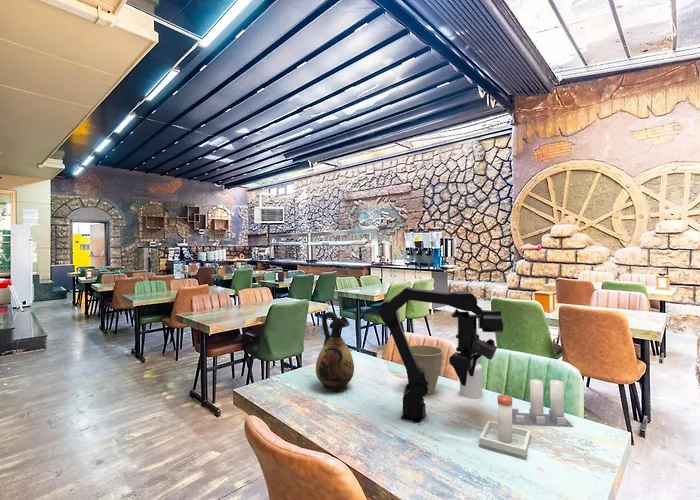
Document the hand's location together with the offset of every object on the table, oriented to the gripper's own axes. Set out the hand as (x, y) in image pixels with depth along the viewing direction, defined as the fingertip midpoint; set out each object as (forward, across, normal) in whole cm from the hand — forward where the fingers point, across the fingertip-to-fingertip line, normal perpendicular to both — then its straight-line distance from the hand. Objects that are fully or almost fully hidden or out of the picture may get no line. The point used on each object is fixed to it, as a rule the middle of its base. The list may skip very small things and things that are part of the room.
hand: (467, 380), depth 111 cm
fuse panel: (+13, +10, -18) cm, 24 cm away
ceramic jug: (+13, +1, +53) cm, 55 cm away
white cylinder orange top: (+12, -7, -12) cm, 18 cm away
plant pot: (+13, +16, +21) cm, 30 cm away
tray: (+13, -7, -12) cm, 19 cm away
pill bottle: (+13, +20, +4) cm, 24 cm away
